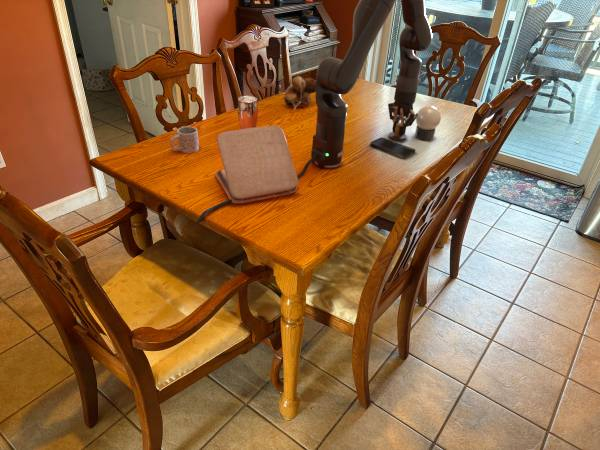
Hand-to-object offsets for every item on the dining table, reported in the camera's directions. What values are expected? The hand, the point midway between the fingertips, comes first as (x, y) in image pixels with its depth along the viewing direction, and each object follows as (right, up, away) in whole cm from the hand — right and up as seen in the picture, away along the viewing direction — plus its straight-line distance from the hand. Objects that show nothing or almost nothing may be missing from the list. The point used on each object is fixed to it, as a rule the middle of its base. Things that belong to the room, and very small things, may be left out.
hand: (398, 133), depth 168 cm
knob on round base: (0, -1, +1) cm, 2 cm away
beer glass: (-55, -4, -7) cm, 56 cm away
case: (-50, -22, -34) cm, 64 cm away
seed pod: (-38, +18, +26) cm, 49 cm away
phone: (-4, -7, -8) cm, 12 cm away
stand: (+10, -1, +3) cm, 11 cm away
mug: (-76, -9, -16) cm, 78 cm away
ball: (+11, +5, -1) cm, 12 cm away
